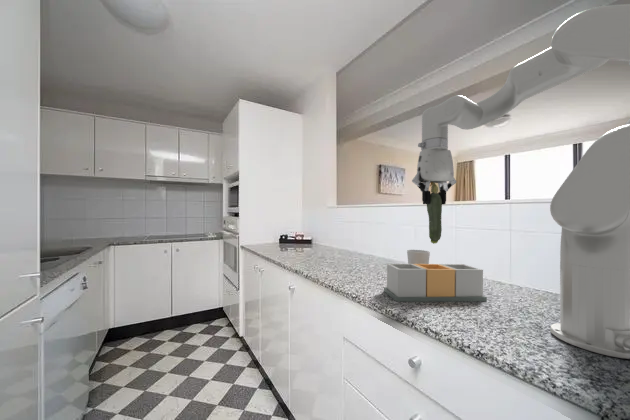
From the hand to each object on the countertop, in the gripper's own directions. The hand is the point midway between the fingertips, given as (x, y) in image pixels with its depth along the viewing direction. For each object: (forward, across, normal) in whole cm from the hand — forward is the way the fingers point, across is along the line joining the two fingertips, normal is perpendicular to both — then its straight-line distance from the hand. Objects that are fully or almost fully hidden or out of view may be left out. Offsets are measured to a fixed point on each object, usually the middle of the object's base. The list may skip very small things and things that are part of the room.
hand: (434, 203), depth 78 cm
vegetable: (+13, 0, 0) cm, 13 cm away
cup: (+29, +3, +15) cm, 33 cm away
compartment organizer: (+29, 0, 0) cm, 29 cm away
